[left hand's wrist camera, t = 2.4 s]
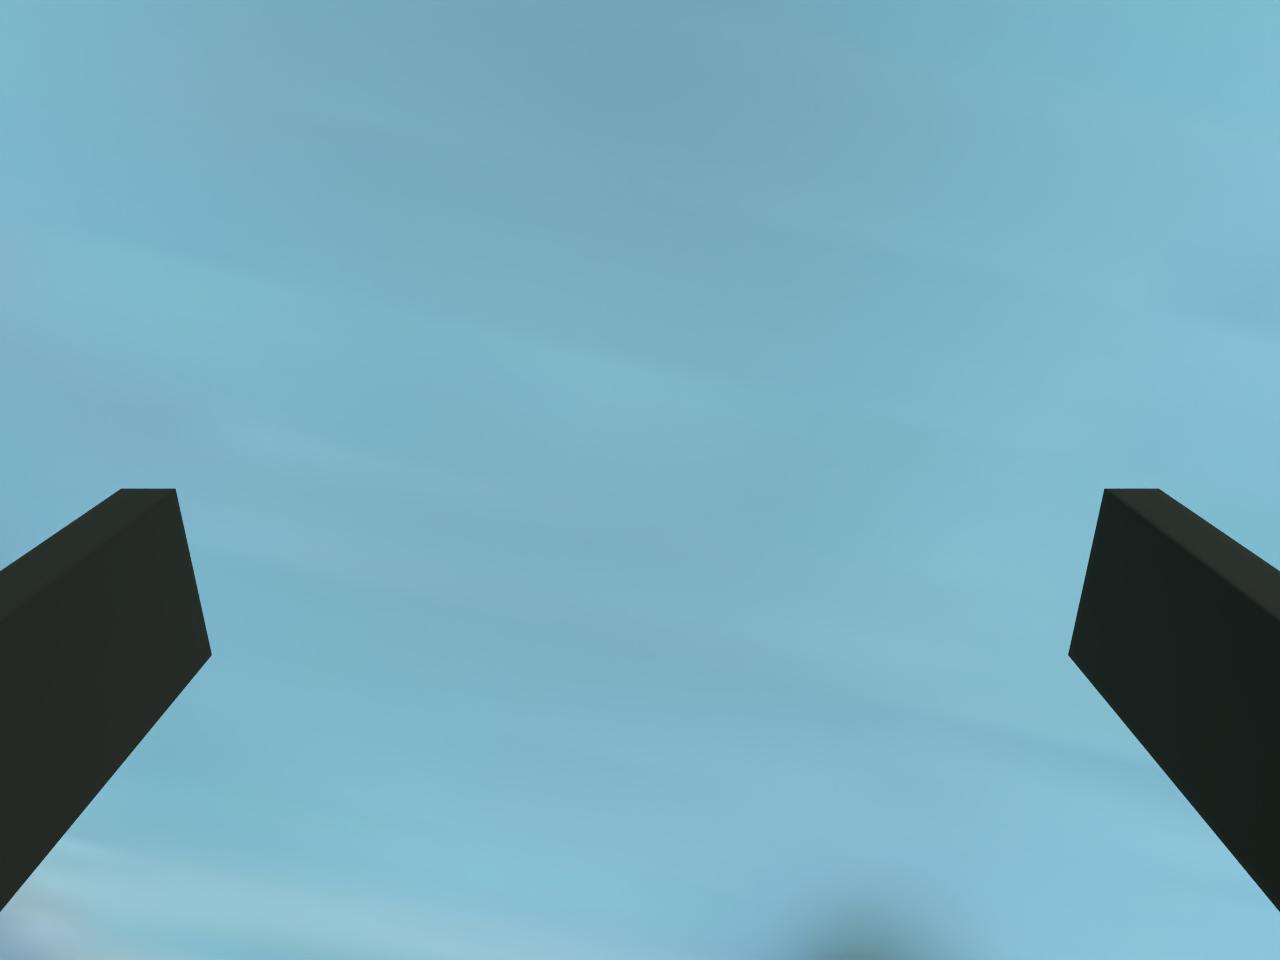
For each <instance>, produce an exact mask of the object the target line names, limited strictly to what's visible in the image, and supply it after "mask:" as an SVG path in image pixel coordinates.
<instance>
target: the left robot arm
mask: <svg viewBox="0 0 1280 960" xmlns="http://www.w3.org/2000/svg"><path fill="white" fill-rule="evenodd" d="M211 655H212V654H211V649H210V644H209V640H208V635H207V631H206V626H205V622H204V617H203V612H202V608H201V603H200V599H199V594H198V590H197V585H196V580H195V576H194V571H193V567H192V562H191V557H190V553H189V548H188V544H187V539H186V535H185V530H184V525H183V521H182V516H181V512H180V507H179V502H178V498H177V493H176V489H120V490H119V491H117V492H116V493H114V494H113V495H111V496H110V497H108V498H107V499H105V500H104V501H103V502H101V503H100V504H98V505H97V506H95V507H94V508H92V509H91V510H89V511H88V512H86V513H85V514H83V515H82V516H81V517H79V518H78V519H76V520H75V521H73V522H72V523H70V524H69V525H67V526H66V527H64V528H63V529H61V530H60V531H59V532H57V533H56V534H54V535H53V536H51V537H50V538H48V539H47V540H45V541H44V542H42V543H41V544H39V545H38V546H37V547H35V548H34V549H32V550H31V551H29V552H28V553H26V554H25V555H23V556H22V557H20V558H19V559H17V560H16V561H15V562H13V563H12V564H10V565H9V566H7V567H6V568H4V569H3V570H1V571H0V911H1V910H2V909H3V908H4V907H5V905H6V904H7V903H8V902H9V901H10V899H11V898H12V897H13V896H14V894H15V893H16V892H17V891H18V890H19V888H20V887H21V886H22V885H23V884H24V882H25V881H26V880H27V879H28V877H29V876H30V875H31V874H32V873H33V871H34V870H35V869H36V868H37V867H38V865H39V864H40V863H41V862H42V860H43V859H44V858H45V857H46V856H47V854H48V853H49V852H50V851H51V850H52V848H53V847H54V846H55V845H56V843H57V842H58V841H59V840H60V839H61V837H62V836H63V835H64V834H65V833H66V831H67V830H68V829H69V828H70V827H71V825H72V824H73V823H74V822H75V820H76V819H77V818H78V817H79V816H80V814H81V813H82V812H83V811H84V810H85V808H86V807H87V806H88V805H89V803H90V802H91V801H92V800H93V799H94V797H95V796H96V795H97V794H98V793H99V791H100V790H101V789H102V788H103V786H104V785H105V784H106V783H107V782H108V780H109V779H110V778H111V777H112V776H113V774H114V773H115V772H116V771H117V769H118V768H119V767H120V766H121V765H122V763H123V762H124V761H125V760H126V759H127V757H128V756H129V755H130V754H131V752H132V751H133V750H134V749H135V748H136V746H137V745H138V744H139V743H140V742H141V740H142V739H143V738H144V737H145V735H146V734H147V733H148V732H149V731H150V729H151V728H152V727H153V726H154V725H155V723H156V722H157V721H158V720H159V718H160V717H161V716H162V715H163V714H164V712H165V711H166V710H167V709H168V708H169V706H170V705H171V704H172V703H173V701H174V700H175V699H176V698H177V697H178V695H179V694H180V693H181V692H182V691H183V689H184V688H185V687H186V686H187V684H188V683H189V682H190V681H191V680H192V678H193V677H194V676H195V675H196V674H197V672H198V671H199V670H200V669H201V667H202V666H203V665H204V664H205V663H206V661H207V660H208V659H209V658H210V657H211ZM1068 655H1069V657H1070V658H1071V659H1072V660H1073V661H1074V663H1075V664H1076V665H1077V666H1078V667H1079V669H1080V670H1081V671H1082V672H1083V674H1084V675H1085V676H1086V677H1087V678H1088V680H1089V681H1090V682H1091V683H1092V684H1093V686H1094V687H1095V688H1096V689H1097V691H1098V692H1099V693H1100V694H1101V695H1102V697H1103V698H1104V699H1105V700H1106V701H1107V703H1108V704H1109V705H1110V706H1111V708H1112V709H1113V710H1114V711H1115V712H1116V714H1117V715H1118V716H1119V717H1120V718H1121V720H1122V721H1123V722H1124V723H1125V725H1126V726H1127V727H1128V728H1129V729H1130V731H1131V732H1132V733H1133V734H1134V735H1135V737H1136V738H1137V739H1138V740H1139V742H1140V743H1141V744H1142V745H1143V746H1144V748H1145V749H1146V750H1147V751H1148V752H1149V754H1150V755H1151V756H1152V757H1153V759H1154V760H1155V761H1156V762H1157V763H1158V765H1159V766H1160V767H1161V768H1162V769H1163V771H1164V772H1165V773H1166V774H1167V776H1168V777H1169V778H1170V779H1171V780H1172V782H1173V783H1174V784H1175V785H1176V786H1177V788H1178V789H1179V790H1180V791H1181V793H1182V794H1183V795H1184V796H1185V797H1186V799H1187V800H1188V801H1189V802H1190V803H1191V805H1192V806H1193V807H1194V808H1195V810H1196V811H1197V812H1198V813H1199V814H1200V816H1201V817H1202V818H1203V819H1204V820H1205V822H1206V823H1207V824H1208V825H1209V827H1210V828H1211V829H1212V830H1213V831H1214V833H1215V834H1216V835H1217V836H1218V837H1219V839H1220V840H1221V841H1222V842H1223V844H1224V845H1225V846H1226V847H1227V848H1228V850H1229V851H1230V852H1231V853H1232V854H1233V856H1234V857H1235V858H1236V859H1237V860H1238V862H1239V863H1240V864H1241V865H1242V867H1243V868H1244V869H1245V870H1246V871H1247V873H1248V874H1249V875H1250V876H1251V877H1252V879H1253V880H1254V881H1255V882H1256V884H1257V885H1258V886H1259V887H1260V888H1261V890H1262V891H1263V892H1264V893H1265V894H1266V896H1267V897H1268V898H1269V899H1270V901H1271V902H1272V903H1273V904H1274V905H1275V907H1276V908H1277V909H1278V910H1279V911H1280V571H1279V570H1277V569H1276V568H1274V567H1273V566H1271V565H1270V564H1268V563H1267V562H1265V561H1264V560H1263V559H1261V558H1260V557H1258V556H1257V555H1255V554H1254V553H1252V552H1251V551H1249V550H1248V549H1246V548H1245V547H1243V546H1242V545H1241V544H1239V543H1238V542H1236V541H1235V540H1233V539H1232V538H1230V537H1229V536H1227V535H1226V534H1224V533H1223V532H1221V531H1220V530H1219V529H1217V528H1216V527H1214V526H1213V525H1211V524H1210V523H1208V522H1207V521H1205V520H1204V519H1202V518H1201V517H1199V516H1198V515H1197V514H1195V513H1194V512H1192V511H1191V510H1189V509H1188V508H1186V507H1185V506H1183V505H1182V504H1180V503H1179V502H1177V501H1176V500H1175V499H1173V498H1172V497H1170V496H1169V495H1167V494H1166V493H1164V492H1163V491H1161V490H1160V489H1104V493H1103V498H1102V502H1101V507H1100V512H1099V516H1098V521H1097V525H1096V530H1095V535H1094V539H1093V544H1092V548H1091V553H1090V557H1089V562H1088V567H1087V571H1086V576H1085V580H1084V585H1083V590H1082V594H1081V599H1080V603H1079V608H1078V612H1077V617H1076V622H1075V626H1074V631H1073V635H1072V640H1071V644H1070V649H1069V654H1068Z"/></svg>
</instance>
